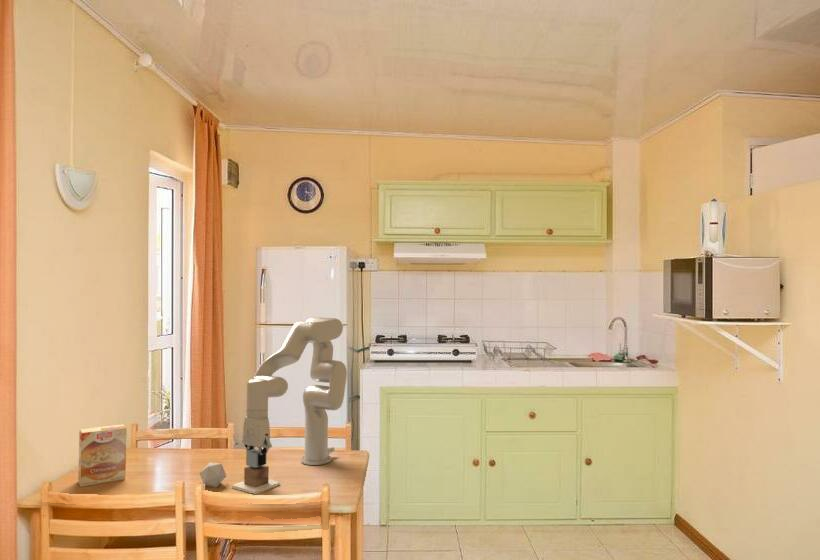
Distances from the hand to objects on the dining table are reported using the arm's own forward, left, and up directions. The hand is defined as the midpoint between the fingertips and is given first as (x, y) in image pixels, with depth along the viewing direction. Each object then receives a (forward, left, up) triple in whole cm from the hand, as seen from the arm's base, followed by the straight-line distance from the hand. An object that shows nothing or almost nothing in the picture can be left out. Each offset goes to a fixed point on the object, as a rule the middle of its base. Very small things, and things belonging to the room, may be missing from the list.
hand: (256, 463), depth 204 cm
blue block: (0, 0, 0) cm, 0 cm away
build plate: (0, 0, -8) cm, 8 cm away
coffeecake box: (+28, -52, -9) cm, 60 cm away
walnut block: (0, 0, -7) cm, 7 cm away
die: (+8, -14, -9) cm, 18 cm away
